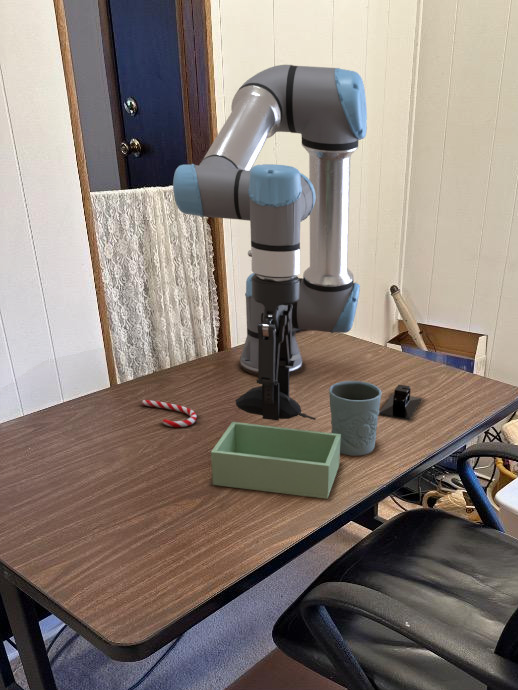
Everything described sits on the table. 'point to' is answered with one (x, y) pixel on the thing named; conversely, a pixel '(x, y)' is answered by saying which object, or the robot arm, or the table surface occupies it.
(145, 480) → the table surface
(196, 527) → the table surface
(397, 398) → the black bracket mount
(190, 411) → the candy cane
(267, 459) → the open rectangular box
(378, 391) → the blue-grey embossed cup
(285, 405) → the gaming mouse
